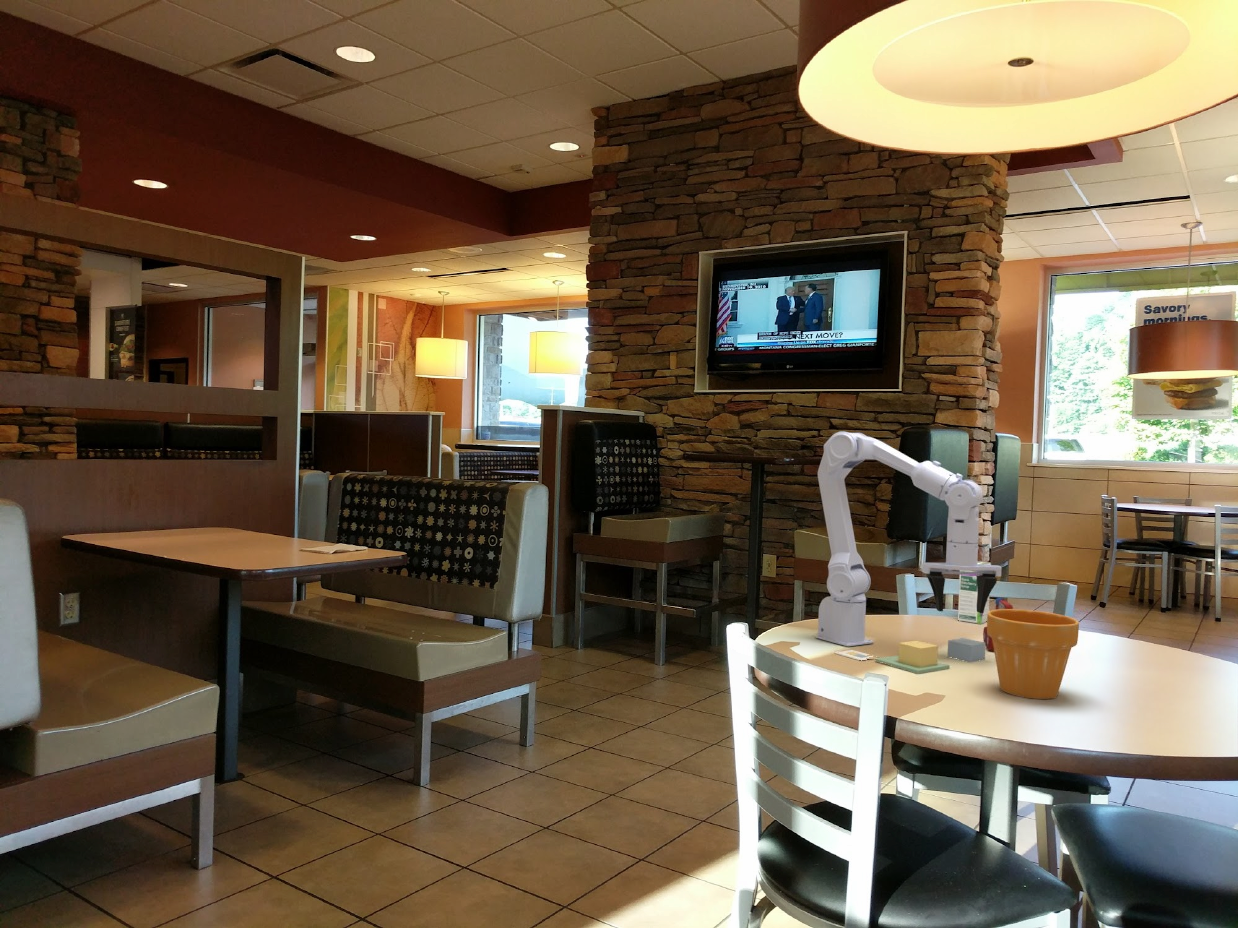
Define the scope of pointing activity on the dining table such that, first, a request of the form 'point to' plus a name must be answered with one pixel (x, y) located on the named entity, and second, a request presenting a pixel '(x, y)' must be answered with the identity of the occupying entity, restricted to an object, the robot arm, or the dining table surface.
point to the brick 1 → (918, 653)
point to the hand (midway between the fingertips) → (959, 611)
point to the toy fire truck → (986, 638)
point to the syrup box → (970, 599)
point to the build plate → (894, 662)
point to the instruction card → (854, 654)
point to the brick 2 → (966, 649)
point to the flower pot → (1031, 650)
